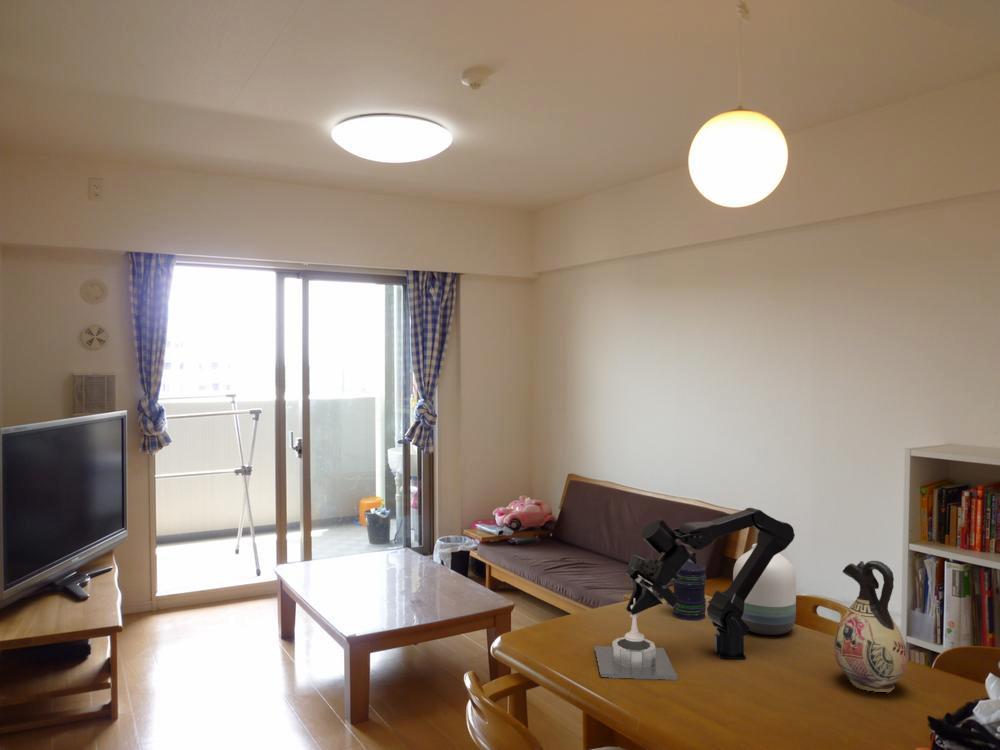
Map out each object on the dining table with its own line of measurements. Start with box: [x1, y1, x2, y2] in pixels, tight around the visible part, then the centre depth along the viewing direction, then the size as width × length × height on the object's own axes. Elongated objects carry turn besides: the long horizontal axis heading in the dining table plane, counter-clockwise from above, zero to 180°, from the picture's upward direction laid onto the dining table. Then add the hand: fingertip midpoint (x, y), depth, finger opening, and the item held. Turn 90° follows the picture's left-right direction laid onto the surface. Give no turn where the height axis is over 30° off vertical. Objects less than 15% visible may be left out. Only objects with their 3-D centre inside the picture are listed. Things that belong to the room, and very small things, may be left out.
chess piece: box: [624, 598, 646, 642], centre depth 179 cm, size 5×5×10 cm
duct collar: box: [594, 636, 678, 681], centre depth 179 cm, size 18×18×5 cm
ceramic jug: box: [833, 560, 908, 693], centre depth 166 cm, size 17×15×30 cm
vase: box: [732, 543, 797, 636], centre depth 205 cm, size 17×17×24 cm
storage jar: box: [671, 561, 707, 622], centre depth 217 cm, size 10×10×15 cm
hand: (629, 612), depth 179 cm, fingers closed on chess piece
